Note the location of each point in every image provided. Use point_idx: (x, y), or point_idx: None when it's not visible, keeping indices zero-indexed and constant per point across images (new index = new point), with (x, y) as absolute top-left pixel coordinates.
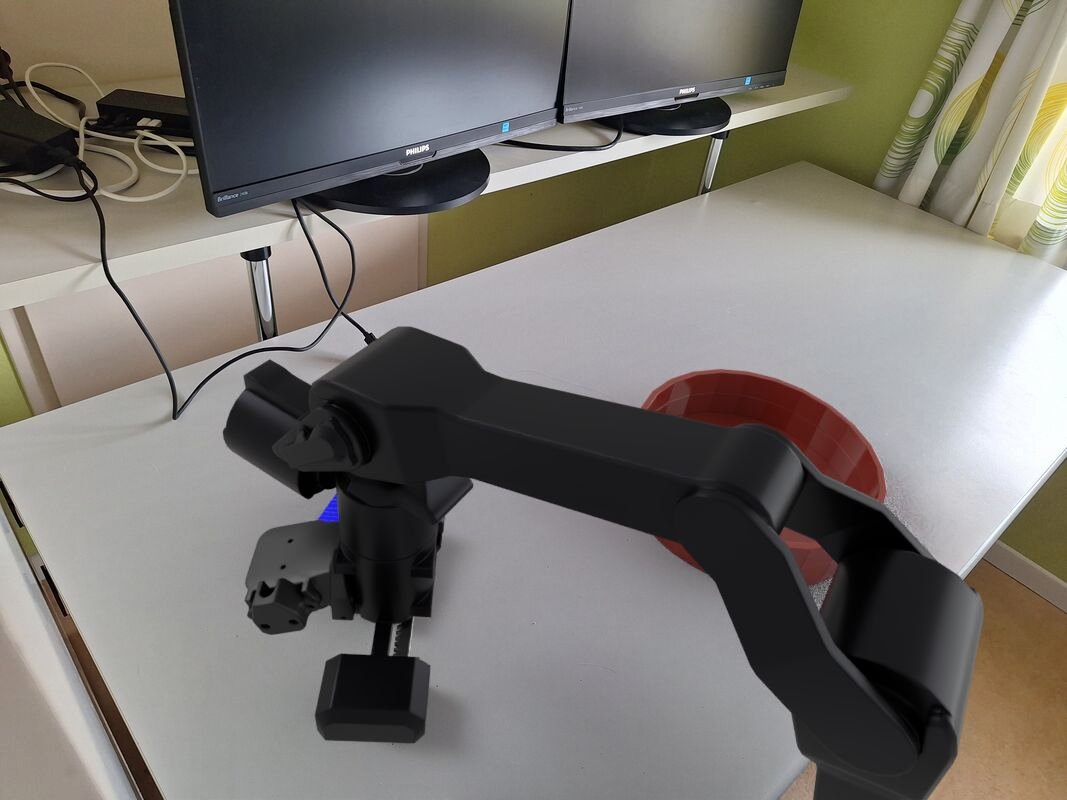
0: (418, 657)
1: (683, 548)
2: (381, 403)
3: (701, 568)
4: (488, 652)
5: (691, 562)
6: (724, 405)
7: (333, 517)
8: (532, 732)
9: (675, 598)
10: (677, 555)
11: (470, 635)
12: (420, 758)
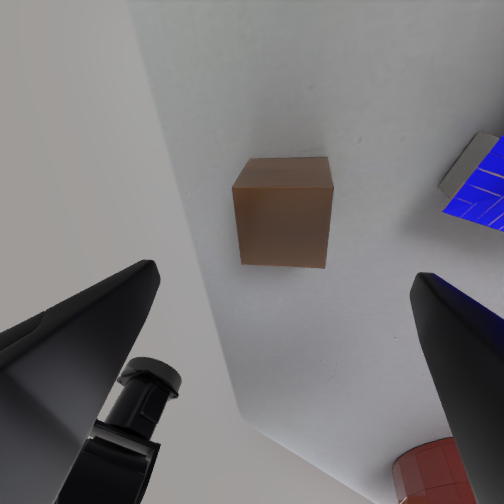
0: (324, 267)
1: (454, 456)
2: None
3: (428, 447)
4: (360, 297)
5: (438, 444)
6: None
7: None
8: (266, 324)
9: (400, 424)
10: (451, 438)
11: (390, 281)
12: (224, 233)
